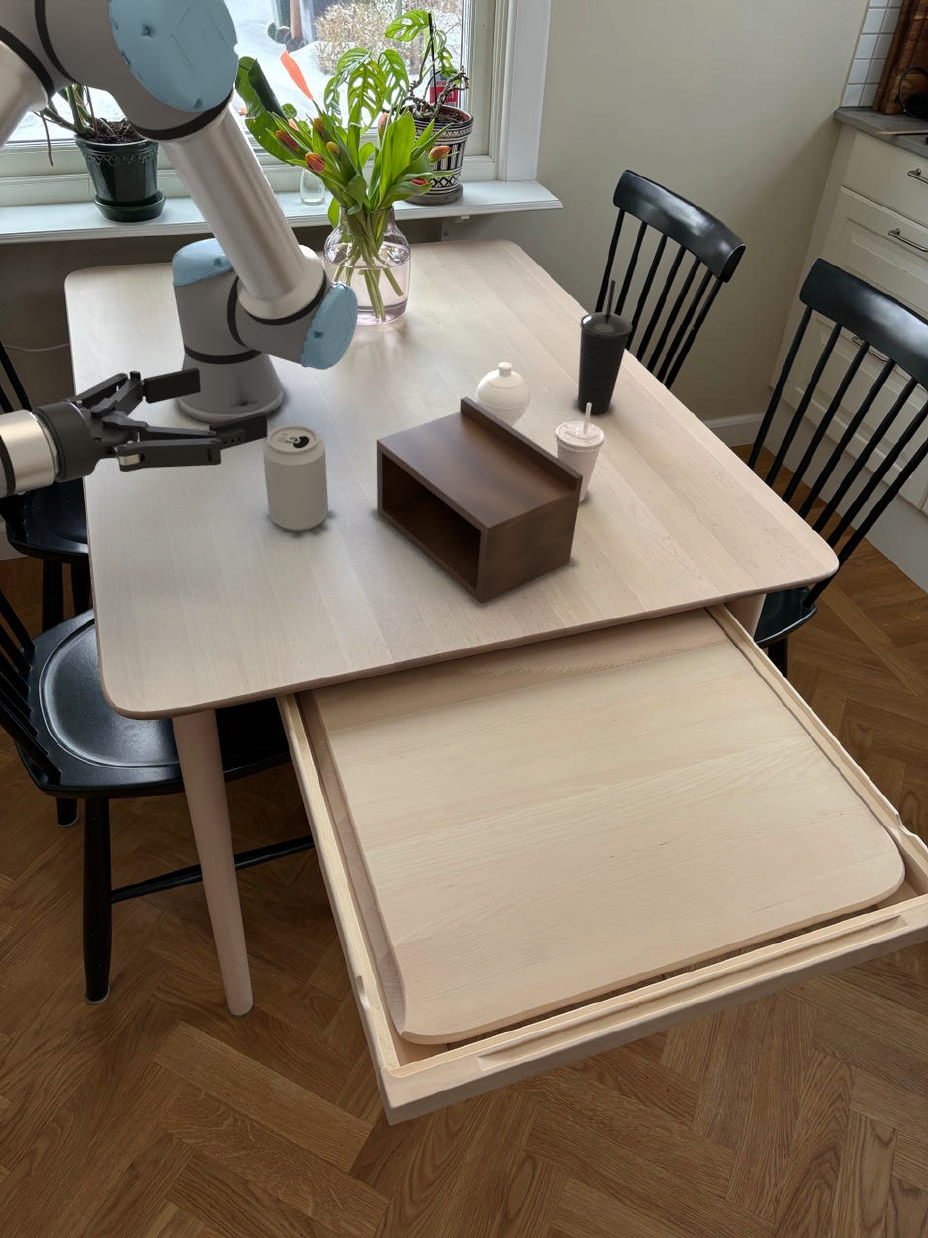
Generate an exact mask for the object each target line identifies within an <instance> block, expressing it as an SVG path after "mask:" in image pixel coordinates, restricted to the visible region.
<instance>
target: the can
mask: <svg viewBox="0 0 928 1238" xmlns="http://www.w3.org/2000/svg"><path fill="white" fill-rule="evenodd" d="M262 456H263V457H262V459H263V467H264V477H265V487H266V495H267V507H268V515H269V518H270V519H271V521H272V523H274V524H276V525H278V526H279V527H282V529H284V530H289V531H295V532H300V531H307V530H311V529H313V528H316V527H317V526H318V525H319V524H321V523H322V522H323V521H325V519H326V518H327V517H328V513H329V501H328V500H329V499H328V480H327V461H326V446H325V444H324V442H323V441H322V440H321V439H320V435H319V433H318V432H317V431H316V430H315V429H313V428H311V427H310V426H306V425H302V424H286V425H285V424H284V425H282V426H278V427H276V428H274V429H273V430H271V431H270V432H269V433H267V438H266V441H265V443H264V444H263V447H262Z"/></svg>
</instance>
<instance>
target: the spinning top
mask: <svg viewBox="0 0 928 1238" xmlns="http://www.w3.org/2000/svg"><path fill="white" fill-rule="evenodd" d="M530 400H531V392H530V388H529V386H528V384H527V382H526V381H525V379H524V378H523V377H522V375H520V374H519V373H517V372H515V371H513V365H512V364H511V363H510V362H507V361H506V362H500V363H499V364H498V369H497V370H493V371H490V372H489V373H487V374H486V376H484V377H483V378H482V379H481V380H480V382H479V383H478V385H477V388H476V391H475V402H476V403H477V404H478V405H480V406H481V407H483V408H484V409H486V410H487V411H489V412H490V413H492V414H493V415H495V416H496V417H498V418H499V419H500V420H502V421H503V422H505V423H506V424H508V425H509V426H511V427H512V428H513V427H514V425H515V424H516V423H517V422H519V420H520V419H521V418H522V417H523V415H524V414H525V412H526V410H527V409H528V407H529V404H530Z"/></svg>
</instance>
